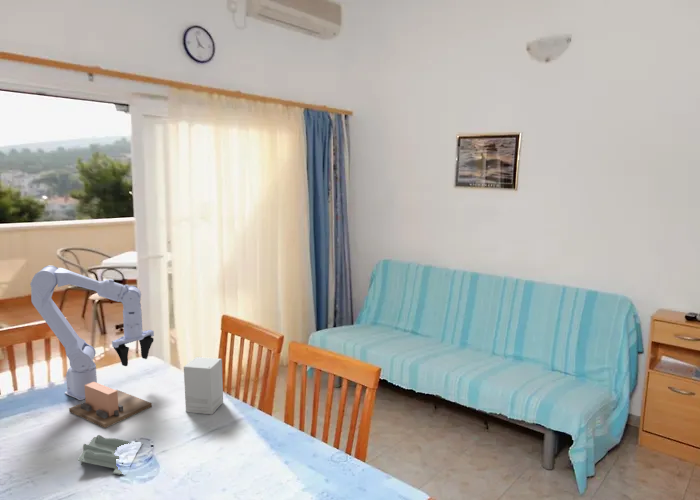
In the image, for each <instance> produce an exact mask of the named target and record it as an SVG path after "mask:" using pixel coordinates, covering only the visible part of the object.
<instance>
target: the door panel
mask: <svg viewBox="0 0 700 500" xmlns="http://www.w3.org/2000/svg"><path fill="white" fill-rule="evenodd" d="M117 390H118V389H114V388H110V387H109V386H106V385H103V384H101V383H99V382H97V383H96V382H91V383H88V384H86V385H85V399H84V400H85V402H86V404H88V405H91V407H92V409H93V410H98V409H100V410H102V411H105V412H107V415H108V416H109V417H110V416H112V415H114V411H115V410H118V411H119V409H118V392H117Z"/></svg>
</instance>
